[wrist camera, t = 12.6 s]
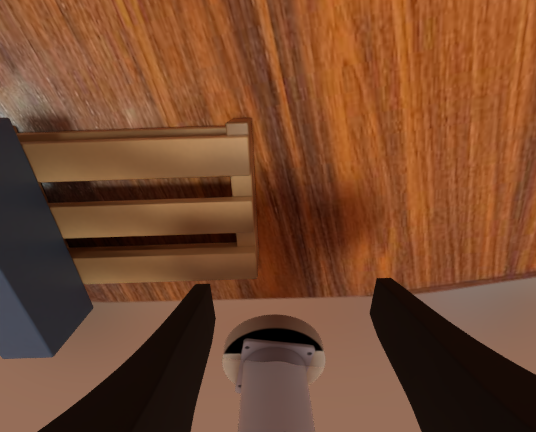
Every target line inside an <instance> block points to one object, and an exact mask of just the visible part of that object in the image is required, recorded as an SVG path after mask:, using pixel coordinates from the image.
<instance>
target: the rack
mask: <svg viewBox="0 0 536 432" xmlns="http://www.w3.org/2000/svg"><path fill="white" fill-rule="evenodd" d="M13 128H14V130H15V132H16V135H17V137H18V139H19V141H20V144H21V146H22V148H23V150H24V152H25V155H26V157H27V159H28V161H29V164H30V166H31V168H32V170H33V173H34V175H35V177H36V179H37V182H38V184H39V186H40V188H41V191H42V193H43V195H44V197H45V200H46V202H47V204H48V206H49V209H50V211H51V213H52V215H53V218H54V220H55V222H56V224H57V227H58V229H59V231H60V233H61V235H62V238H63V240H64V242H65V244H66V247H67V249H68V251H69V253H70V256H71V258H72V260H73V262H74V265H75V267H76V269H77V271H78V274H79V276H80V278H81V280H82V283H83V284H106V283H138V282H169V281H200V280H231V279H257V277H258V259H259V247H258V229H257V210H256V192H255V174H254V155H253V137H252V119H251V118H234V119H232V120H230V121H229V122H227V123H226V124H225V126H211V127H180V128H150V129H120V130H89V131H59V132H29V133H18V131H17V129H16V127H15V126H13ZM224 176H230V177H231V187H232V197H214V198H184V199H153V200H122V201H91V202H61V203H49V201H48V199H47V197H46V194H45V192H44V190H43V188H42V185H41V182H71V181H102V180H133V179H163V178H194V177H224ZM218 233H236V238H237V242H229V243H198V244H167V245H136V246H105V247H74V248H69V246H68V244H67V242H66V240H65V238H95V237H126V236H157V235H188V234H218Z"/></svg>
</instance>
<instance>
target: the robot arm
mask: <svg viewBox="0 0 536 432" xmlns="http://www.w3.org/2000/svg"><path fill="white" fill-rule="evenodd" d="M370 316H371V319H372V322H373V325H374V328H375V330H376V333H377V336H378V338H379V340H380V342H381V344H382V346H383V348H384V351H385V353H386V355H387V357H388V359H389V361H390V363H391V365H392V367H393V369H394V371H395V373H396V375H397V377H398V379H399V381H400V383H401V385H402V387H403V389H404V391H405V393H406V395H407V397H408V400H409V402H410V404H411V406H412V409H413V411H414V414H415V416H416V419H417V421H418V424H419V426H420V429H421V431H422V432H536V375H535V374H533V373H531V372H530V371H528V370H526V369H524V368H522V367H521V366H519V365H517V364H515V363H514V362H512V361H510V360H508V359H507V358H505V357H503V356H502V355H500V354H498V353H496V352H495V351H493V350H492V349H490V348H488V347H487V346H485V345H484V344H482V343H480V342H479V341H477V340H476V339H474V338H473V337H471V336H470V335H468V334H467V333H465V332H464V331H462V330H461V329H459V328H458V327H456V326H455V325H453V324H452V323H451V322H449V321H448V320H446V319H445V318H443V317H442V316H441V315H439V314H438V313H437V312H435V311H434V310H433V309H431V308H430V307H429V306H427V305H426V304H424V303H423V302H422V301H421V300H419V299H418V298H417V297H415V296H414V295H413V294H412V293H410V292H409V291H408V290H406V289H405V288H404V287H402V286H401V285H400V284H398V283H397V282H396V281H394V280H393V279H392V278H377V279H376V284H375V289H374V294H373V299H372V304H371V309H370ZM215 319H216V318H215V312H214V306H213V300H212V294H211V288H210V284H196V285H194V286H193V288H192V289H191V290H190V291H189V293H188V294H187V295H186V296H185V298H184V299H183V300H182V301H181V303H180V304H179V305H178V306H177V308H176V309H175V310H174V311H173V312H172V313H171V315H170V316H169V317H168V318H167V319H166V320H165V321H164V323H163V324H162V325H161V326H160V327H159V328H158V329H157V330H156V331H155V332H154V333H153V334H152V336H151V337H150V338H149V339H148V340H147V341H146V342H145V343H144V344H143V345H142V346H141V347H140V348H139V349H138V350H137V351H136V352H135V353H134V354H133V355H132V356H131V357H130V358H129V359H128V360H127V361H126V362H125V363H123V364H122V365H121V366H120V367H119V368H118V369H117V370H116V371H114V372H113V373H112V374H111V375H110V376H109V377H108V378H106V379H105V380H104V381H103V382H101V383H100V384H99V385H98V386H97V387H95V388H94V389H93V390H92V391H91V392H89V393H88V394H87V395H86V396H85V397H83V398H82V399H81V400H79V401H78V402H77V403H76V404H74V405H73V406H72V407H70V408H69V409H68V410H67V411H65V412H64V413H62V414H61V415H60V416H58V417H57V418H56V419H54V420H53V421H52V422H50V423H49V424H48V425H46V426H45V427H43V428H42V429H40V430H39V431H38V432H190V431H191V426H192V421H193V415H194V410H195V406H196V401H197V398H198V394H199V390H200V386H201V382H202V379H203V375H204V371H205V367H206V363H207V359H208V356H209V352H210V348H211V344H212V339H213V333H214V326H215ZM314 352H315V348H314V346H313V345H307V344H297V343H288V342H278V341H268V340H258V339H245V340H244V342H243V347H242V353H241V359H240V364H239V370H238V376H237V382H236V388H235V391H236V392H237V393H241V400H240V412H239V424H238V432H315V428H314V421H313V414H312V408H311V401H310V395H309V388H308V382H307V375H306V374H307V371H308V368H309V365H310V363H311V360H312V357H313V354H314Z"/></svg>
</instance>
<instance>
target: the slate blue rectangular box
mask: <svg viewBox="0 0 536 432" xmlns="http://www.w3.org/2000/svg"><path fill="white" fill-rule="evenodd" d="M92 309H93V305H92V303H91V301H90V298H89V296H88V294H87V292H86V289H85V287H84V285H83V283H82V280H81V278H80V276H79V274H78V271H77V269H76V267H75V265H74V262H73V260H72V258H71V256H70V253H69V251H68V249H67V247H66V244H65V242H64V240H63V238H62V235H61V233H60V231H59V229H58V227H57V224H56V222H55V220H54V218H53V215H52V213H51V211H50V209H49V206H48V204H47V202H46V200H45V197H44V195H43V193H42V191H41V188H40V186H39V184H38V182H37V179H36V177H35V175H34V173H33V170H32V168H31V166H30V164H29V161H28V159H27V157H26V155H25V152H24V150H23V148H22V146H21V144H20V141H19V139H18V137H17V135H16V132H15V130H14V128H13V126H12V123H11V121H10V119H9V118H0V356H1V357H2V358H3V359H14V358H46V357H53V356H54V355H55V354H56V353H57V352H58V351H59V349H60V348H61V347H62V345H63V344H64V343H65V342H66V341H67V340H68V338H69V337H70V336H71V335H72V333H73V332H74V331H75V330H76V329H77V327H78V326H79V325H80V324H81V322H82V321H83V320H84V319H85V318H86V316H87V315H88V314H89V313H90V312H91V310H92Z"/></svg>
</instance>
